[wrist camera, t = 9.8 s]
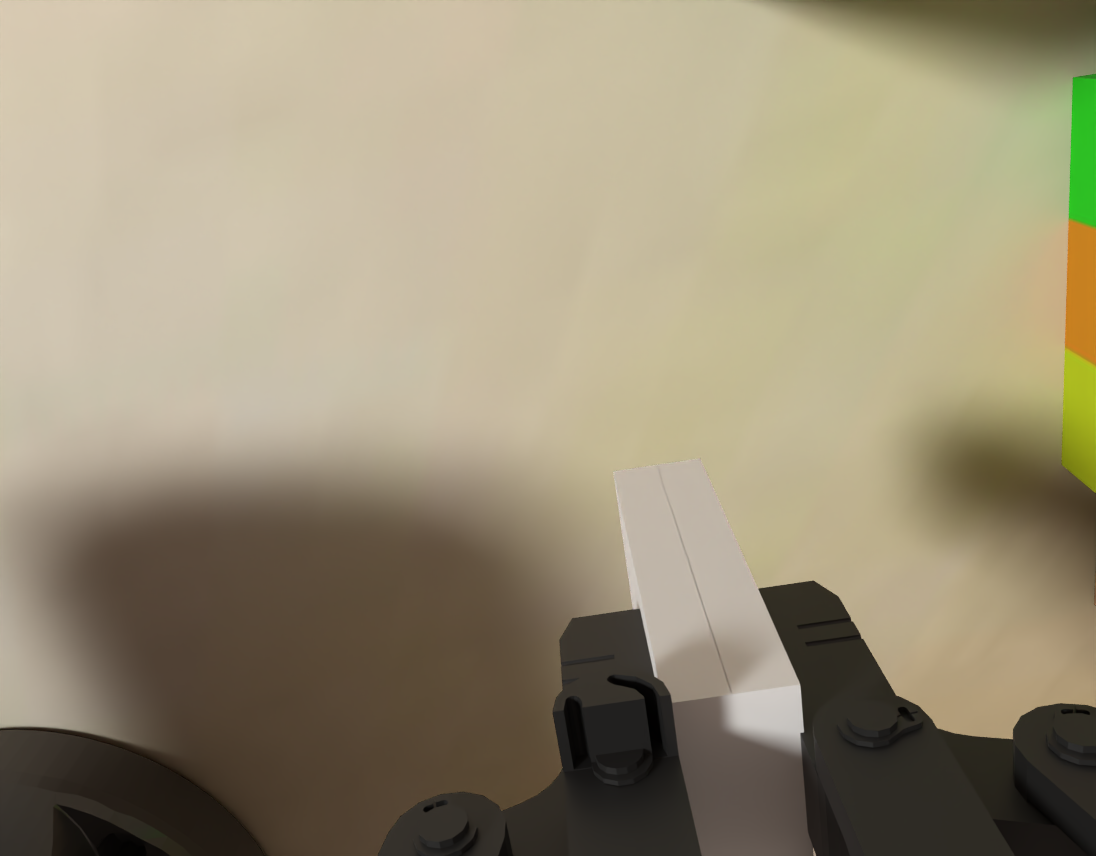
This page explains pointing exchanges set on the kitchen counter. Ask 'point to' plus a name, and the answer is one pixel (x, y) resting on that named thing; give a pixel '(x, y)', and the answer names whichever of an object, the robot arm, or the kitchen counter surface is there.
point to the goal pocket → (1095, 592)
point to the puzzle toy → (1081, 291)
